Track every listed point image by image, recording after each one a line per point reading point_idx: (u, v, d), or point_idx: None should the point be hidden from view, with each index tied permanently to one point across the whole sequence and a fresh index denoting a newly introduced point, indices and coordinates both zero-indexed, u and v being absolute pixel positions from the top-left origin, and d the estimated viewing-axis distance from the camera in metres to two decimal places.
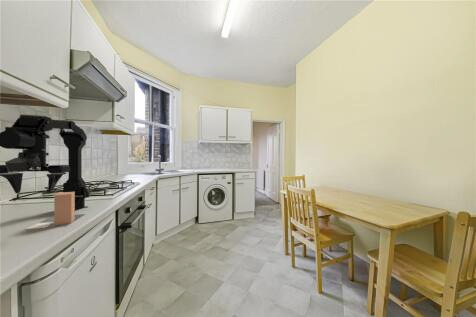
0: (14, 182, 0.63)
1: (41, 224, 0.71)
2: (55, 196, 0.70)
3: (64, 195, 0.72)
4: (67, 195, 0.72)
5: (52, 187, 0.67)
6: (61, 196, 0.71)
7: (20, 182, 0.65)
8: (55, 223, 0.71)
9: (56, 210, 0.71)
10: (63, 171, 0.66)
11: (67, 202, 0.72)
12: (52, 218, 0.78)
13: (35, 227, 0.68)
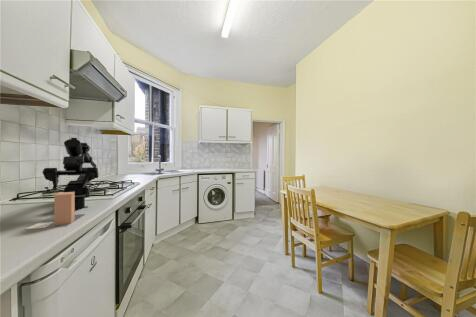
0: (55, 180, 0.78)
1: (41, 224, 0.71)
2: (55, 196, 0.70)
3: (64, 195, 0.72)
4: (67, 195, 0.72)
5: (85, 184, 0.83)
6: (61, 196, 0.71)
7: (57, 183, 0.80)
8: (55, 223, 0.71)
9: (56, 210, 0.71)
10: (97, 171, 0.88)
11: (67, 202, 0.72)
12: (52, 218, 0.78)
13: (35, 227, 0.68)
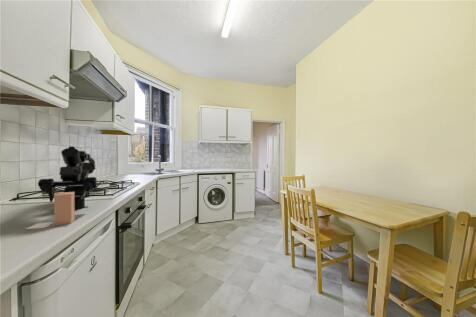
0: (51, 192, 0.74)
1: (41, 224, 0.71)
2: (55, 196, 0.70)
3: (64, 195, 0.72)
4: (67, 195, 0.72)
5: (83, 195, 0.79)
6: (61, 196, 0.71)
7: (53, 195, 0.76)
8: (55, 223, 0.71)
9: (56, 210, 0.71)
10: (96, 181, 0.84)
11: (67, 202, 0.72)
12: (52, 218, 0.78)
13: (35, 227, 0.68)
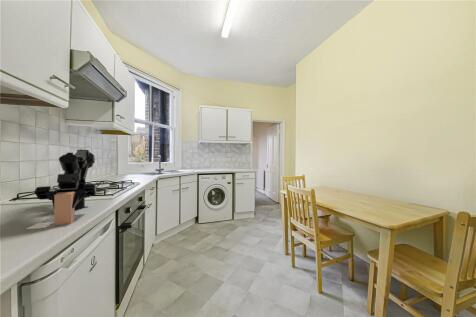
0: None
1: (41, 224, 0.71)
2: (55, 196, 0.70)
3: (64, 195, 0.72)
4: (67, 195, 0.72)
5: (75, 203, 0.75)
6: (61, 196, 0.71)
7: None
8: (55, 223, 0.71)
9: (56, 210, 0.71)
10: (94, 188, 0.81)
11: (67, 202, 0.72)
12: (52, 218, 0.78)
13: (35, 227, 0.68)
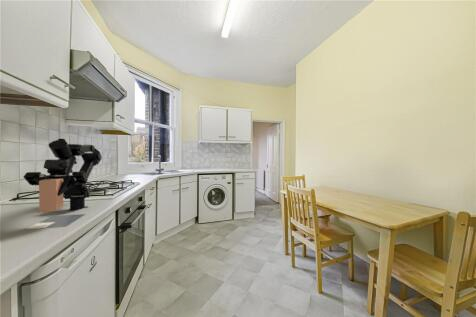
0: None
1: (41, 224, 0.71)
2: (40, 182, 0.68)
3: (49, 181, 0.69)
4: (52, 181, 0.69)
5: (62, 191, 0.72)
6: (46, 182, 0.69)
7: None
8: (40, 210, 0.68)
9: (41, 196, 0.68)
10: (84, 176, 0.77)
11: (52, 188, 0.69)
12: (52, 218, 0.78)
13: (35, 227, 0.68)
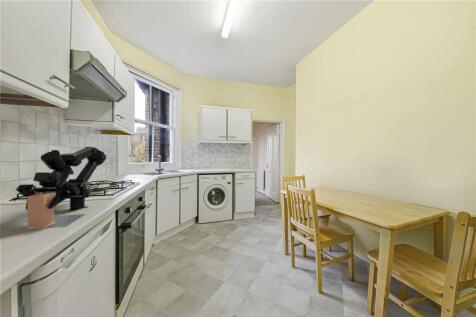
0: None
1: None
2: (28, 198, 0.67)
3: (37, 197, 0.68)
4: (40, 197, 0.68)
5: (53, 204, 0.71)
6: (34, 198, 0.67)
7: None
8: (28, 226, 0.67)
9: (29, 212, 0.67)
10: (74, 189, 0.75)
11: (40, 204, 0.68)
12: None
13: None
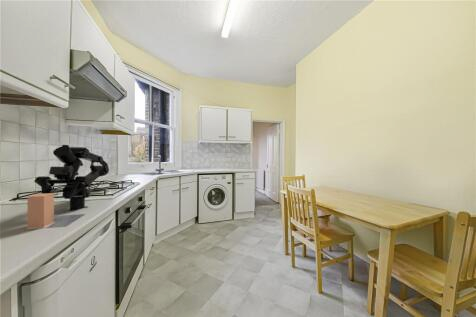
0: (45, 190, 0.78)
1: None
2: (28, 198, 0.67)
3: (37, 197, 0.68)
4: (40, 197, 0.68)
5: (72, 194, 0.80)
6: (34, 198, 0.67)
7: None
8: (28, 226, 0.67)
9: (29, 212, 0.67)
10: (86, 181, 0.83)
11: (40, 204, 0.68)
12: None
13: None
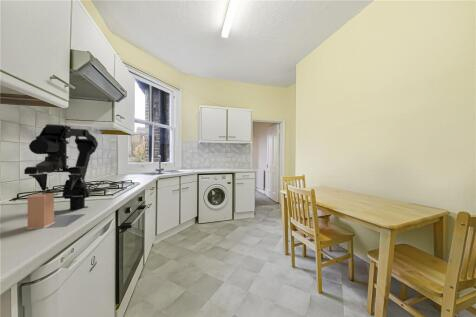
0: (41, 181, 0.75)
1: None
2: (28, 198, 0.67)
3: (37, 197, 0.68)
4: (40, 197, 0.68)
5: (72, 185, 0.79)
6: (34, 198, 0.67)
7: (45, 181, 0.77)
8: (28, 226, 0.67)
9: (29, 212, 0.67)
10: (81, 172, 0.78)
11: (40, 204, 0.68)
12: None
13: None
